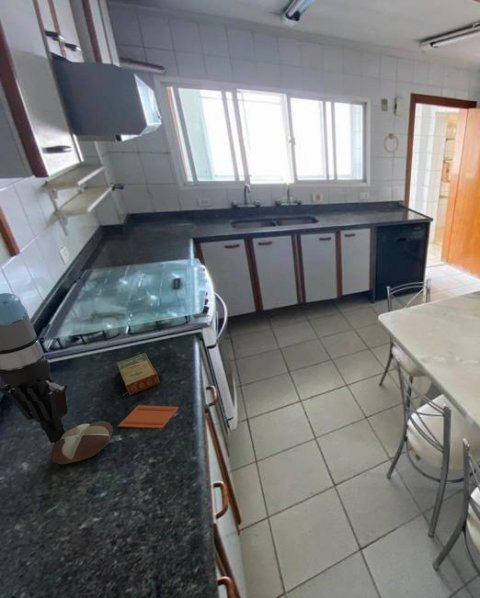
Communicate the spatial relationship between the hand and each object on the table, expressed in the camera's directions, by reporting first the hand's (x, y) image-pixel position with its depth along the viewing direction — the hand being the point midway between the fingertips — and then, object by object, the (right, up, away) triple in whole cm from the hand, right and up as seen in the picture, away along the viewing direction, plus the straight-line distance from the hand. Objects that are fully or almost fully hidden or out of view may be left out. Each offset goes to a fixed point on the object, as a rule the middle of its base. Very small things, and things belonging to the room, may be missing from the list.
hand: (58, 438), depth 83 cm
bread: (+6, -3, +1) cm, 7 cm away
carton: (0, +9, +26) cm, 27 cm away
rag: (+15, +1, +11) cm, 18 cm away
